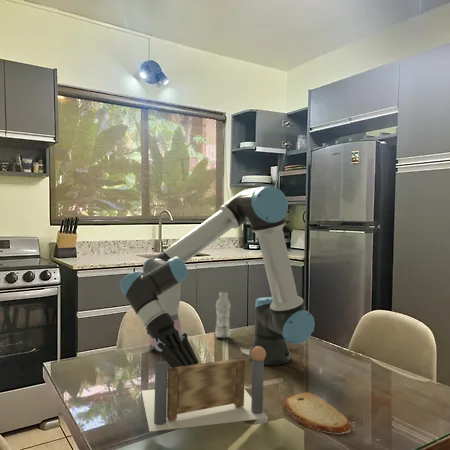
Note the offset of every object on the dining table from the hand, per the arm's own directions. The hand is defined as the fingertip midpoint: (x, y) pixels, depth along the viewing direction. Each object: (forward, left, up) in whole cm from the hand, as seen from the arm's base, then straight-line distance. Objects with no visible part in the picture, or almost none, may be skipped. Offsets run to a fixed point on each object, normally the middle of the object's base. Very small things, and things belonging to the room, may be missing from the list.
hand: (204, 391), depth 110 cm
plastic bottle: (-24, -68, -6) cm, 72 cm away
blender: (+4, -58, -6) cm, 58 cm away
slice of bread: (-29, +7, -7) cm, 31 cm away
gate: (0, +2, -4) cm, 5 cm away
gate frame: (0, -4, -6) cm, 7 cm away
